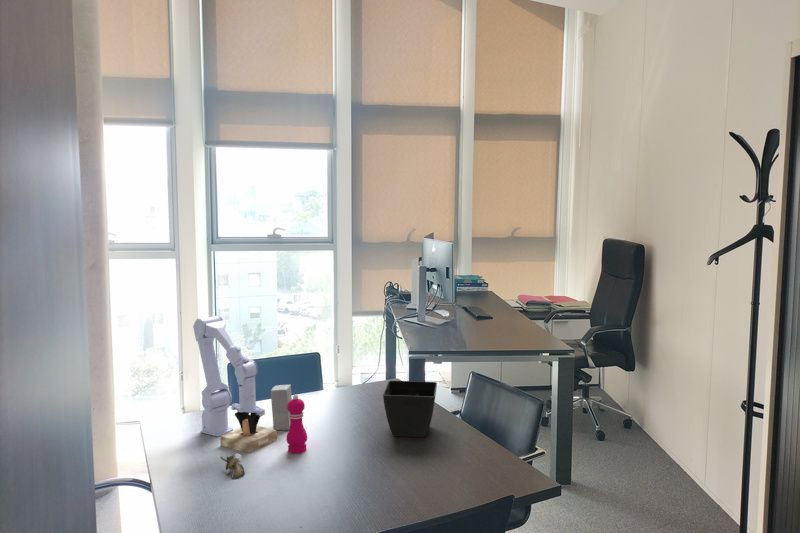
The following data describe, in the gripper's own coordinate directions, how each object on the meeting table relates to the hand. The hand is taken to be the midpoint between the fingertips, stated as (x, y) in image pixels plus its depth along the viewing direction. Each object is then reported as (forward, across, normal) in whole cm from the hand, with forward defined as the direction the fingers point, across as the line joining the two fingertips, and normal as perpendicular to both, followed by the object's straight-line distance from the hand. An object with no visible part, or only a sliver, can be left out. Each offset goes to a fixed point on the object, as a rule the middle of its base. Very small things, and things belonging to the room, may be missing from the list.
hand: (248, 431), depth 217 cm
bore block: (+4, 0, 0) cm, 4 cm away
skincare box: (+4, 0, +18) cm, 18 cm away
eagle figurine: (+4, +14, -21) cm, 26 cm away
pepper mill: (+4, +20, +3) cm, 21 cm away
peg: (+2, 0, 0) cm, 2 cm away
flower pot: (+4, +46, +38) cm, 60 cm away
